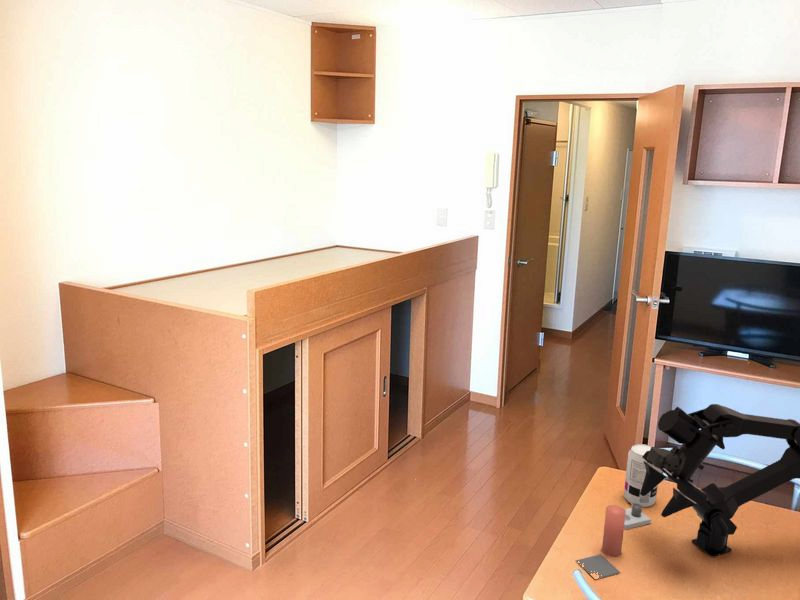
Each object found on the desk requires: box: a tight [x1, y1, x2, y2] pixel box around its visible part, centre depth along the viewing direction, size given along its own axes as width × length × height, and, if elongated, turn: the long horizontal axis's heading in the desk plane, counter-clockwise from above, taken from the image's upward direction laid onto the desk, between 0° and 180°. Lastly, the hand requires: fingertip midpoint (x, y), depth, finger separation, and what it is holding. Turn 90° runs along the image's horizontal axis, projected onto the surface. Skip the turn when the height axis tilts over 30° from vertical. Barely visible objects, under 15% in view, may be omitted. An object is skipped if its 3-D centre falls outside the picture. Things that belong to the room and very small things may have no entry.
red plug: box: [601, 504, 626, 558], centre depth 153 cm, size 4×4×11 cm
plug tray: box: [624, 504, 652, 530], centre depth 166 cm, size 8×6×4 cm
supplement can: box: [623, 443, 659, 508], centre depth 175 cm, size 8×8×15 cm
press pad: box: [575, 553, 621, 579], centre depth 148 cm, size 7×7×1 cm
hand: (651, 505), depth 151 cm, fingers open, 9 cm apart
